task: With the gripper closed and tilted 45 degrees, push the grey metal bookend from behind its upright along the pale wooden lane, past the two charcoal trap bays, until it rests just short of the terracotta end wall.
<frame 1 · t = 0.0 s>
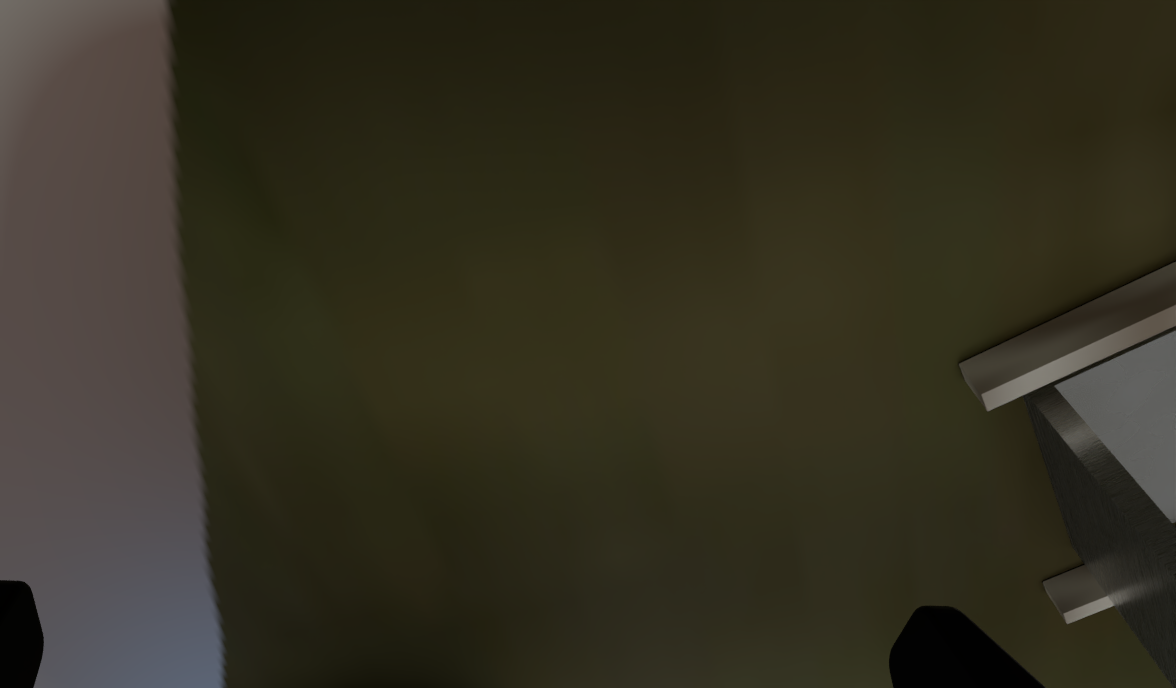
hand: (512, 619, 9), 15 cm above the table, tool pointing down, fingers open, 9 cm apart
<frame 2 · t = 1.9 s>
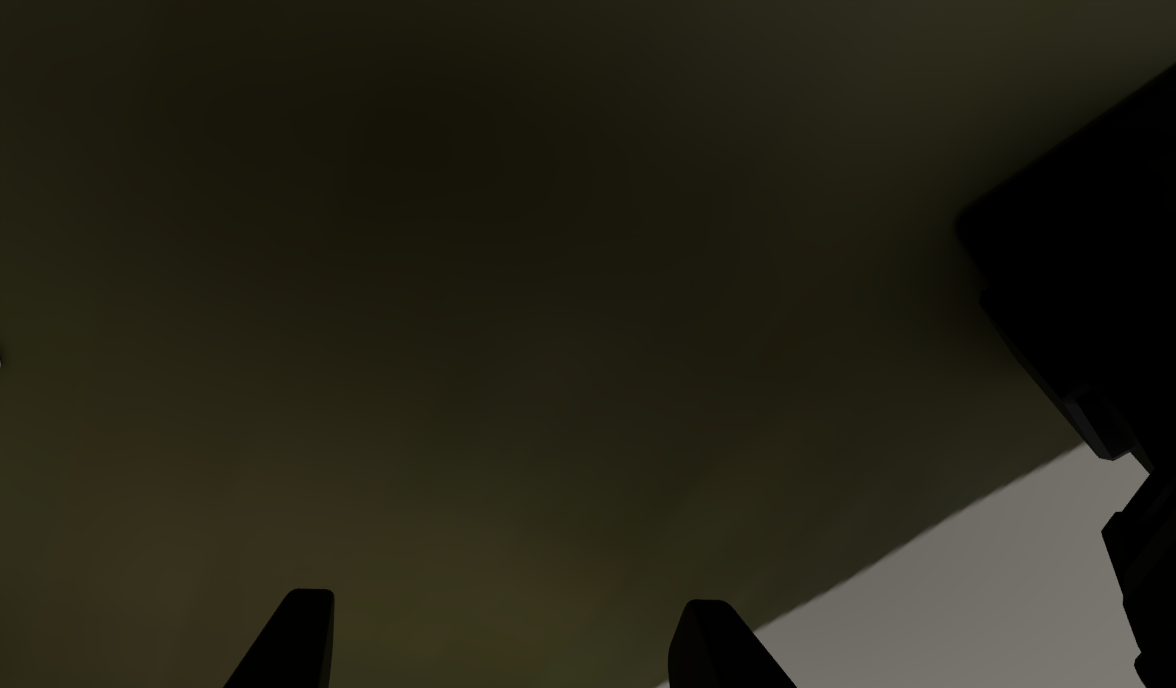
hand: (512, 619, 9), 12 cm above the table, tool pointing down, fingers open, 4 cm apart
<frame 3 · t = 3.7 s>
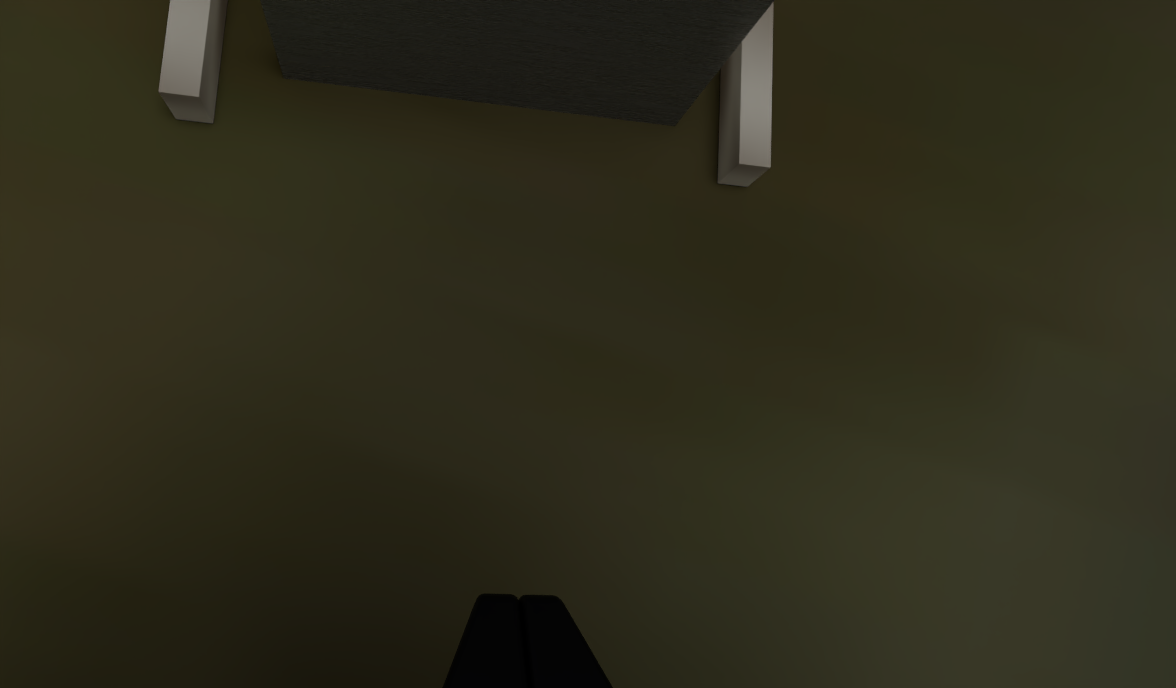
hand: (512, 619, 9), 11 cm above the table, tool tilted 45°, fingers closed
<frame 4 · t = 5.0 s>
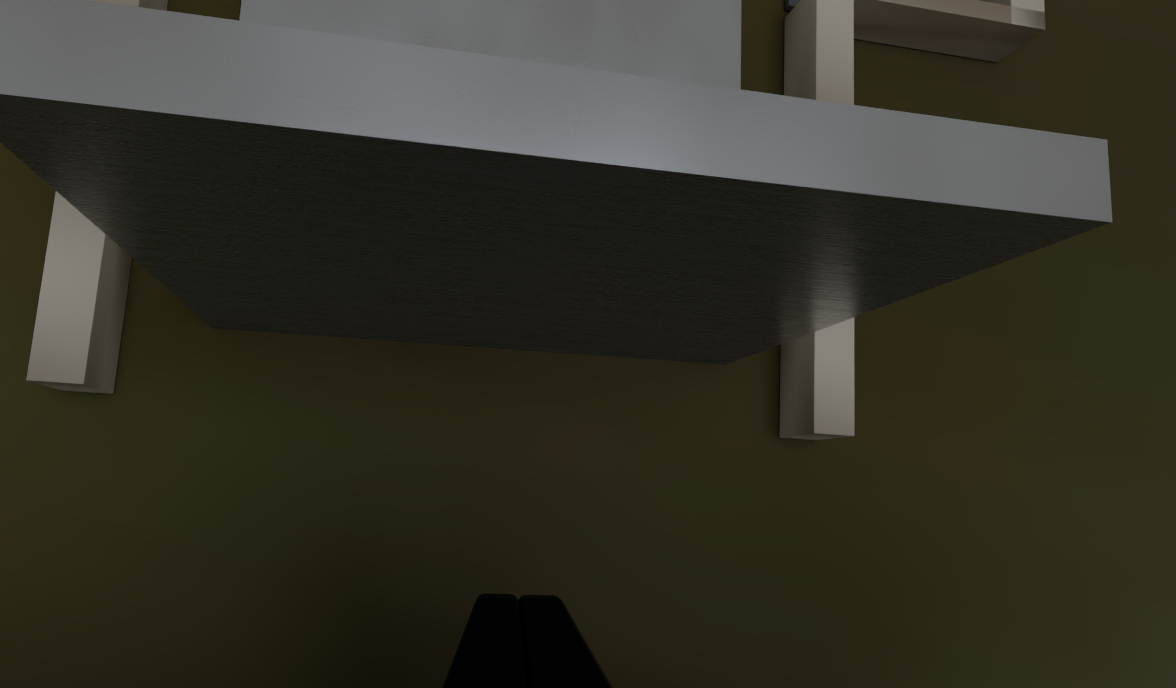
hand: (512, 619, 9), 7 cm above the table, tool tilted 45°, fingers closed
bookend: (500, 54, 18), on the table
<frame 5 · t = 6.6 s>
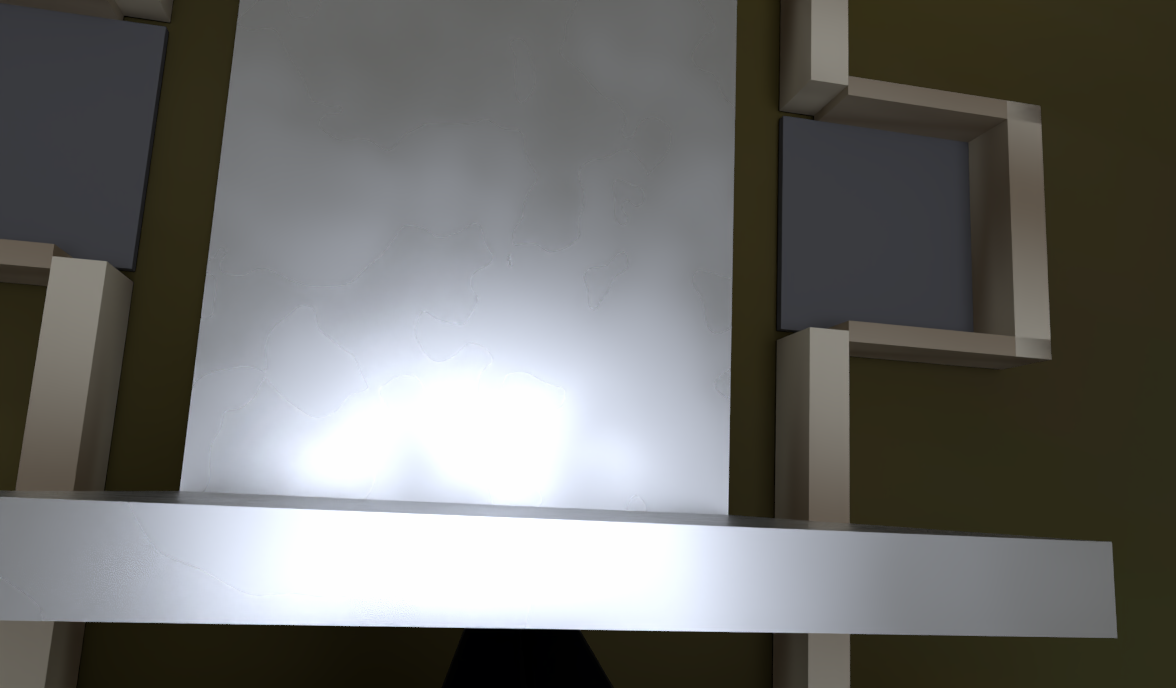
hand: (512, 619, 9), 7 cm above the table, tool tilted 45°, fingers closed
trap lane: (483, 237, 17), on the table
bookend: (485, 232, 17), on the table
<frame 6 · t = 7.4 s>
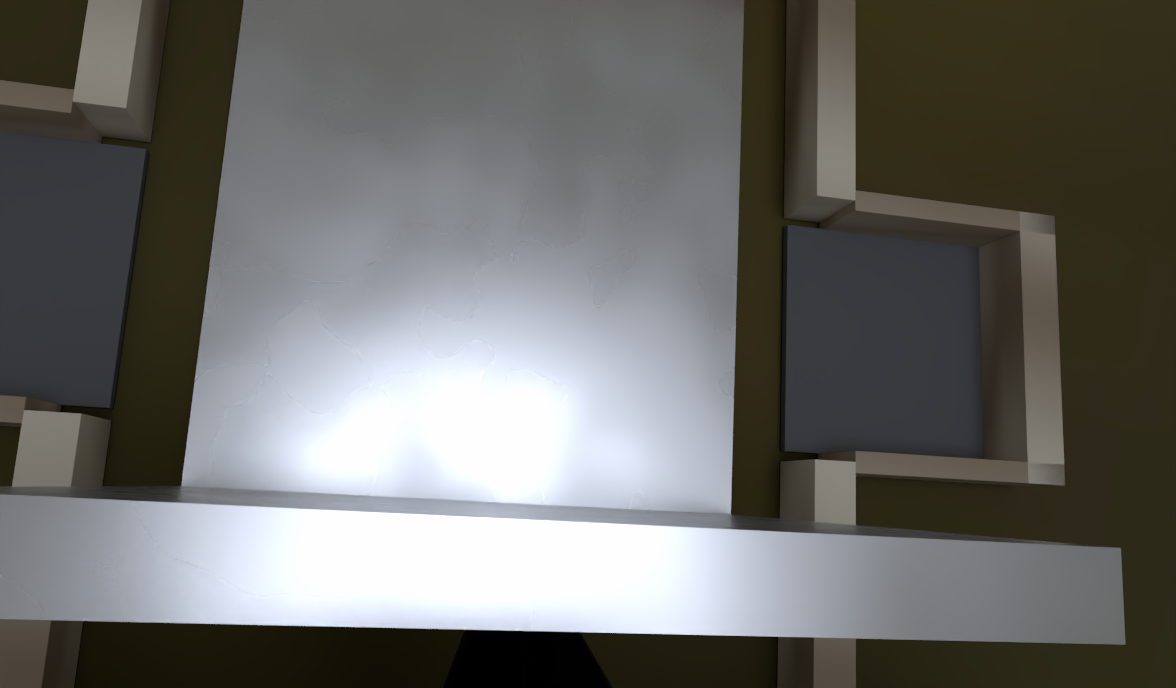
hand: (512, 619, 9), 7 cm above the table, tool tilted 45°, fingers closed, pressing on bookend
trap lane: (476, 361, 17), on the table
bookend: (489, 228, 17), on the table, touching gripper
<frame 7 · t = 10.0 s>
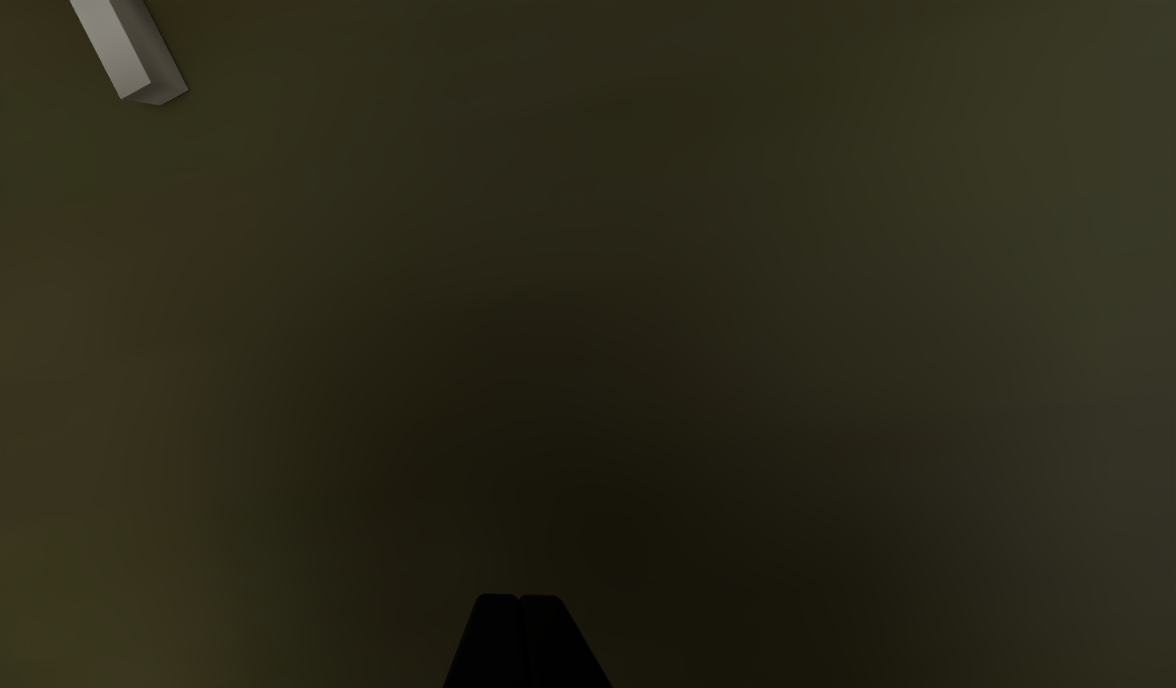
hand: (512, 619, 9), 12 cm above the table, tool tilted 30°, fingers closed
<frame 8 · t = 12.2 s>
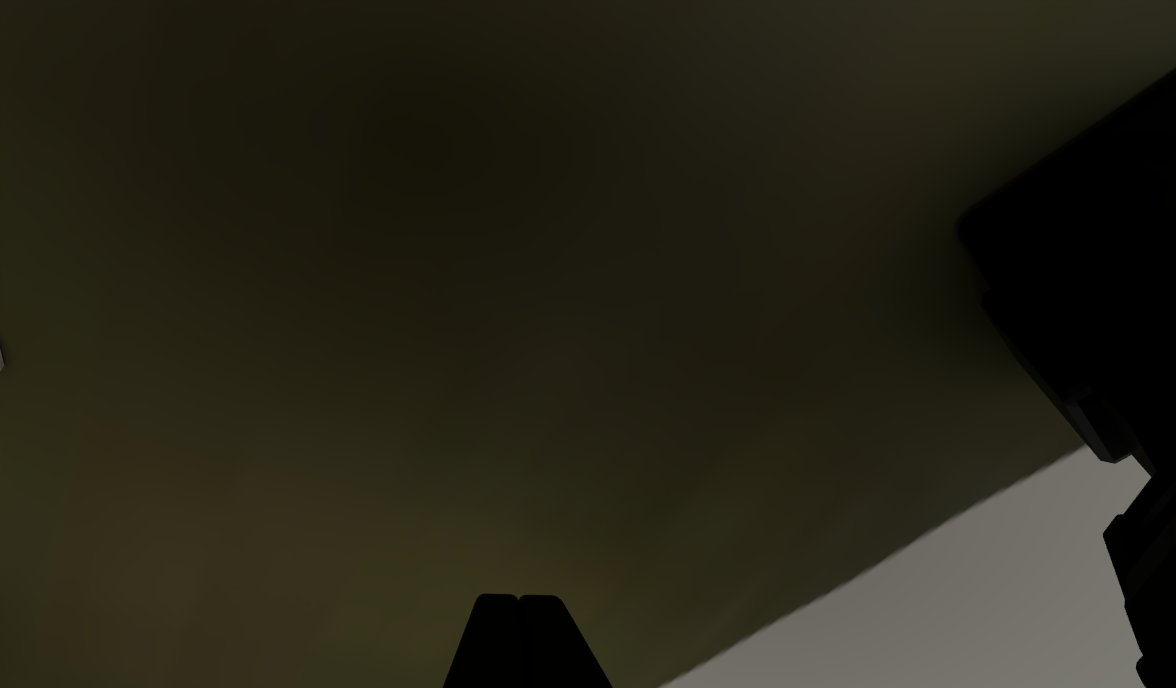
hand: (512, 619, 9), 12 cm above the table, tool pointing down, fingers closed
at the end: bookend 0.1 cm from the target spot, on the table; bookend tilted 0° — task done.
